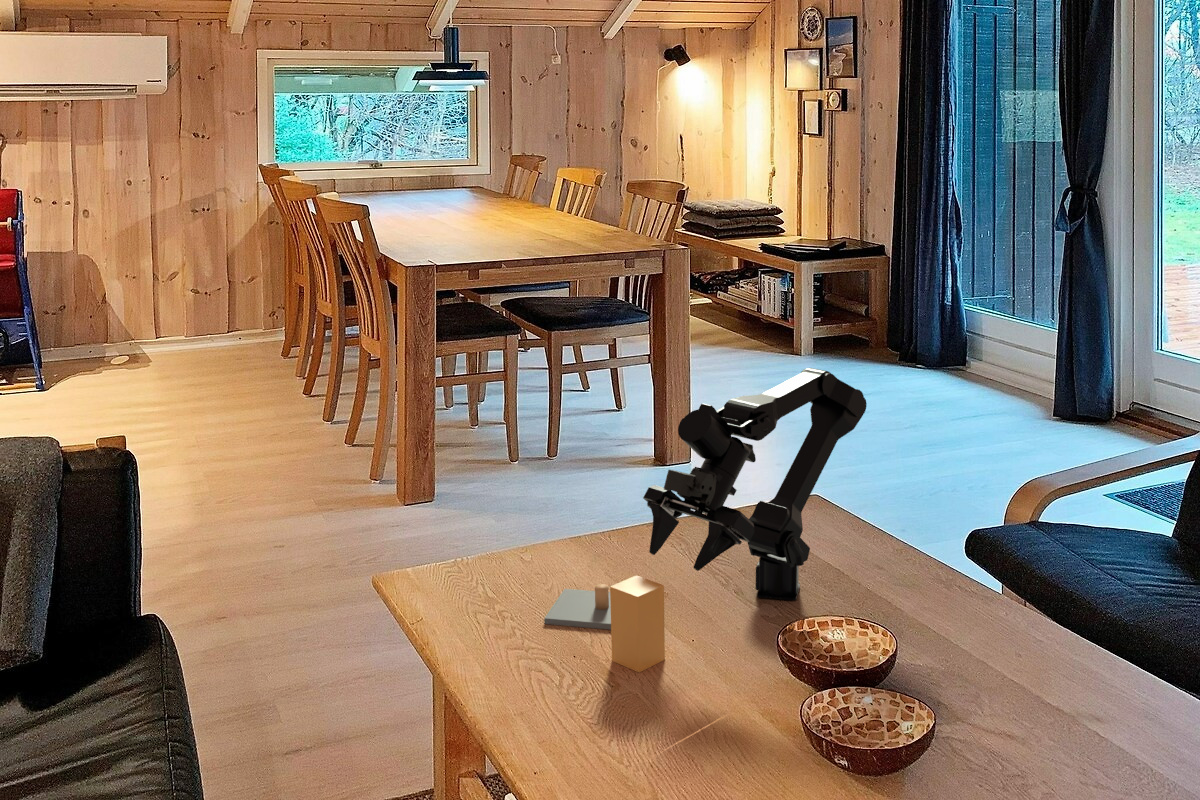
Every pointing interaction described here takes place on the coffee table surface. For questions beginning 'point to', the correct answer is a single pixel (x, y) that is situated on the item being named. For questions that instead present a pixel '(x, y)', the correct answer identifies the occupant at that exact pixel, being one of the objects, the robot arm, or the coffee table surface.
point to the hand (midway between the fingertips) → (673, 561)
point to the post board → (582, 608)
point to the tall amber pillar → (637, 623)
